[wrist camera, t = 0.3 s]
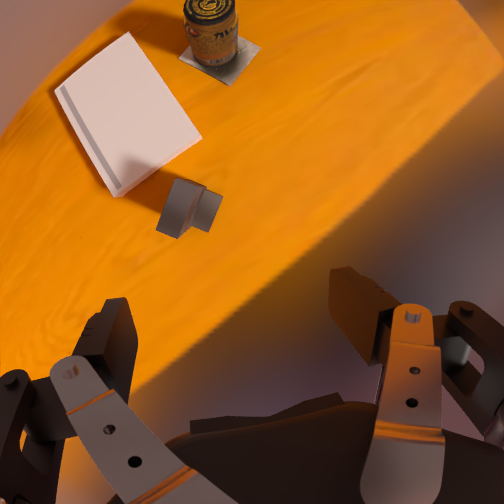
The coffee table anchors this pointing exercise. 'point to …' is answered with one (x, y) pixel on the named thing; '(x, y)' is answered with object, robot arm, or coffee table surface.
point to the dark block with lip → (188, 208)
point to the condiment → (216, 39)
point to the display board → (125, 115)
